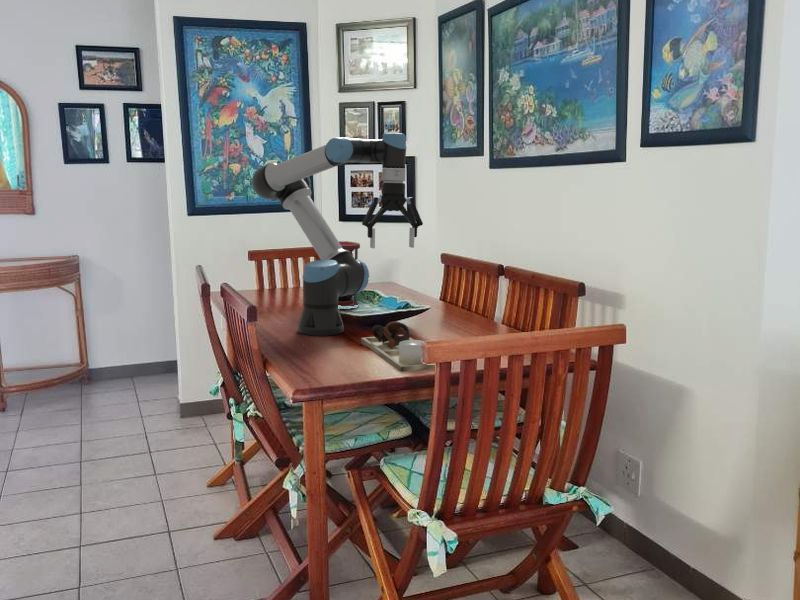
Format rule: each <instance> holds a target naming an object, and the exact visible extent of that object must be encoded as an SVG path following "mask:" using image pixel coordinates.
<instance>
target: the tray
mask: <svg viewBox="0 0 800 600" xmlns="http://www.w3.org/2000/svg"><path fill="white" fill-rule="evenodd" d="M398 335H399V336H403V335H404V334H398ZM408 340H415V339H414V338H412V337H410V338H409V339H408ZM388 343H389V341H386V342H384V343H383V342H382V341H381V342H379V341H378V339H377V338H375V337H374V336H367V337H360V344H361V345H362V346H363V347H368V348H369V349H370V350H371V351H373V352H374V353H376V354H377V355H378V356H380V357H381V358H383V360H385V361H387V362H388V363H389V364H390V365H392V366H393V367H394V368H396V369H398V370H399V371H400V372H413V371H414V372H415V371H424V370H435V369H434V368H435V365H427V364H419V365H408V364H403V363H401V362H399V345H398V346H394V347H393V348H392V349H390V348H389V347H388Z"/></svg>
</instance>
